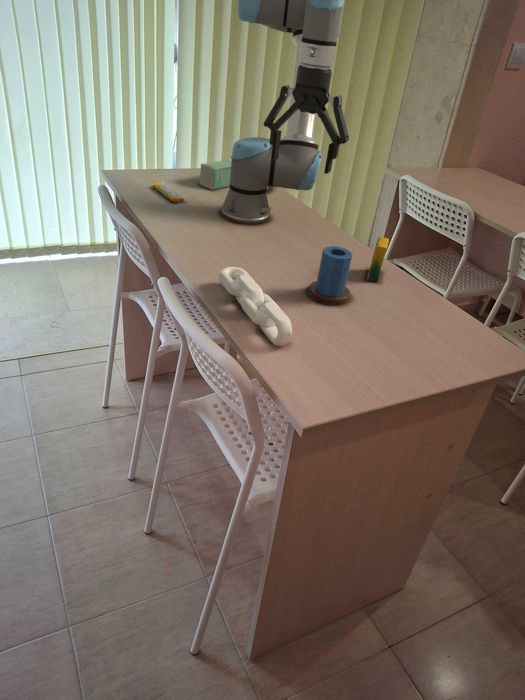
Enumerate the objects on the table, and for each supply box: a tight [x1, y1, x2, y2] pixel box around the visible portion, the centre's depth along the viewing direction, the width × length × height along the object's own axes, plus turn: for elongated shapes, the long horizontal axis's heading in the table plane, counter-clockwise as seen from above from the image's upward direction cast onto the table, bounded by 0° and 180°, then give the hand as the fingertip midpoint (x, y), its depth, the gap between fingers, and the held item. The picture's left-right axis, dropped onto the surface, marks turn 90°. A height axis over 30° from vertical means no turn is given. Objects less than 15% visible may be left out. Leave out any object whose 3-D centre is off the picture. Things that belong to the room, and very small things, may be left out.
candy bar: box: [151, 181, 184, 203], centre depth 178 cm, size 17×4×2 cm, turn 34°
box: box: [199, 159, 232, 191], centre depth 192 cm, size 7×14×8 cm, turn 137°
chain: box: [218, 266, 293, 347], centre depth 120 cm, size 30×6×6 cm, turn 26°
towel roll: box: [316, 245, 353, 297], centre depth 129 cm, size 7×7×10 cm
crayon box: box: [366, 229, 390, 283], centre depth 142 cm, size 7×3×12 cm, turn 164°
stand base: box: [308, 280, 351, 306], centre depth 133 cm, size 10×10×2 cm
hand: (300, 166), depth 128 cm, fingers open, 13 cm apart
